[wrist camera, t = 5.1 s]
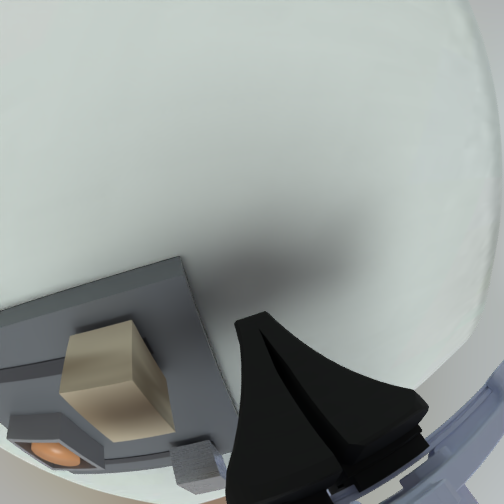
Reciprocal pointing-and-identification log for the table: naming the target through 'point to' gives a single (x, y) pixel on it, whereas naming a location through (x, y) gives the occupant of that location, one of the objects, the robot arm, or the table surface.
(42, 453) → the push button
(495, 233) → the table surface
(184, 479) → the steel slider
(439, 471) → the robot arm
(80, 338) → the birch slider
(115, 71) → the table surface
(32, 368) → the control panel
